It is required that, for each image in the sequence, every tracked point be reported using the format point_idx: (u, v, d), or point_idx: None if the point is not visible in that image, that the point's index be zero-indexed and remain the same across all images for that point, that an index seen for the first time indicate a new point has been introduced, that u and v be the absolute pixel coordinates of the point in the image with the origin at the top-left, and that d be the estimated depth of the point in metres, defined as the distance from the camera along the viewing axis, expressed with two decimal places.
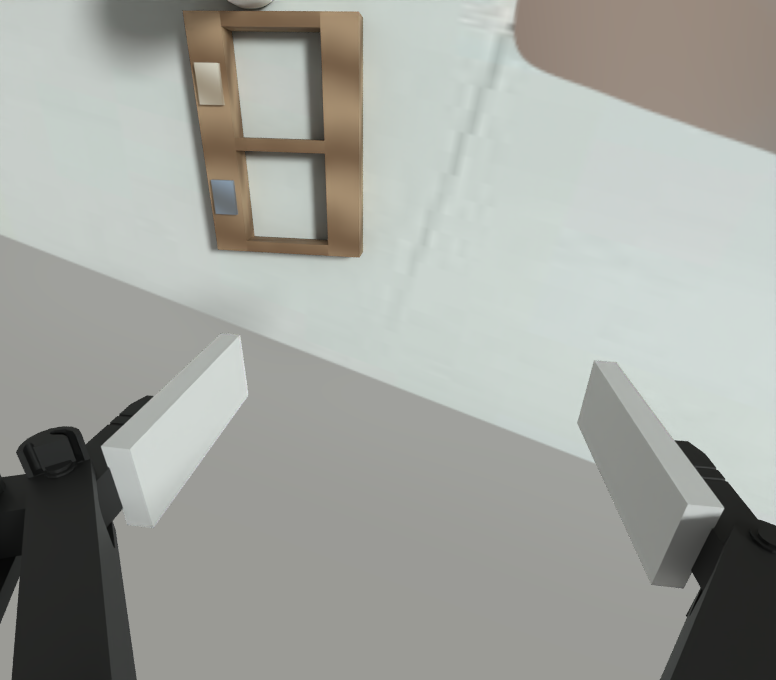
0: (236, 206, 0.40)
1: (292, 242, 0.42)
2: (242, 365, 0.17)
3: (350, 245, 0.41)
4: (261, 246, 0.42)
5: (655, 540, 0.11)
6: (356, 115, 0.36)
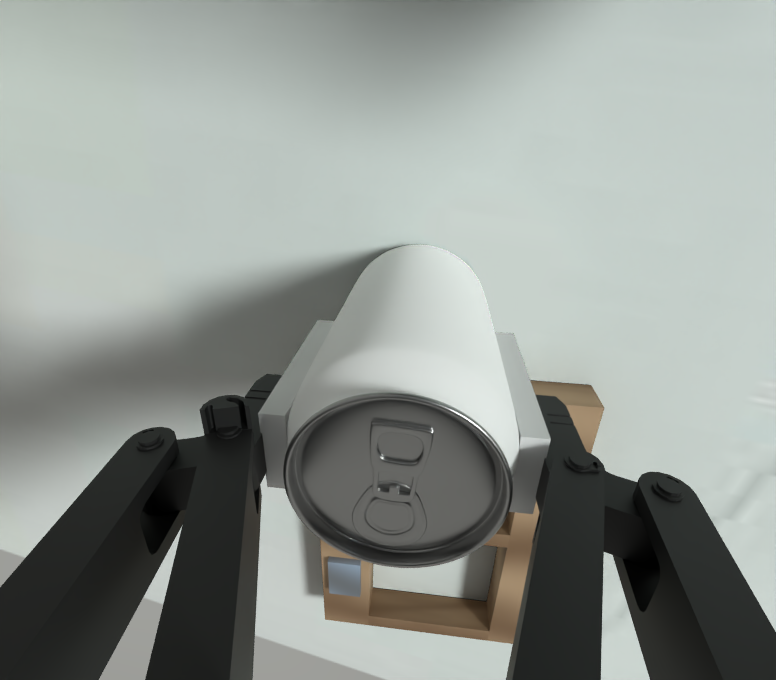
0: (360, 586, 0.28)
1: (434, 619, 0.29)
2: None
3: None
4: (390, 622, 0.29)
5: None
6: None
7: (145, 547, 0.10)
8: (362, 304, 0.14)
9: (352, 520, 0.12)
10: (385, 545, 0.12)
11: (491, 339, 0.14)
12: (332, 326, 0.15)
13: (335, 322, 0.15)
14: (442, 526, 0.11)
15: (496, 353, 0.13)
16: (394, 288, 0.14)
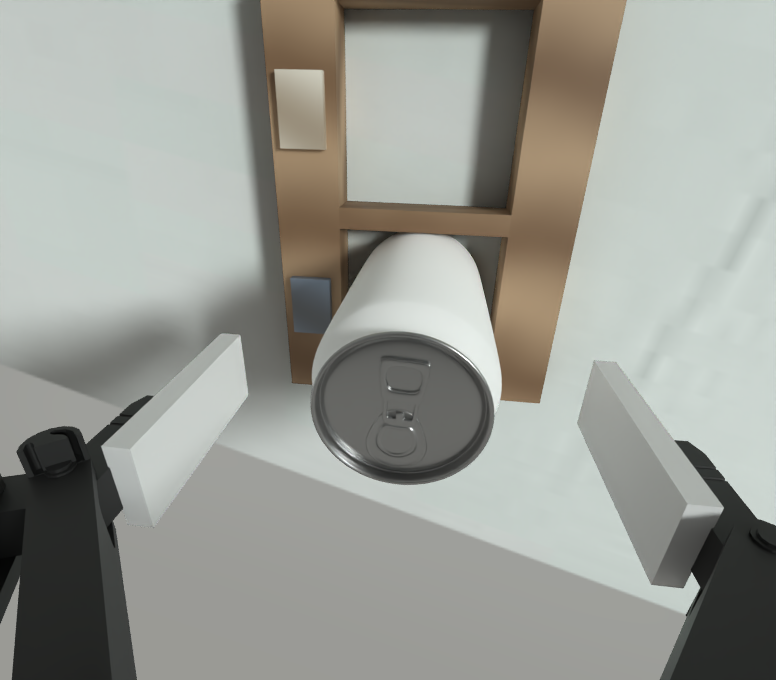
0: (331, 320, 0.23)
1: None
2: (242, 365, 0.17)
3: (527, 385, 0.24)
4: None
5: (655, 540, 0.11)
6: (584, 170, 0.19)
7: None
8: (372, 274, 0.17)
9: (366, 445, 0.14)
10: (393, 467, 0.15)
11: (480, 302, 0.16)
12: (346, 294, 0.17)
13: (349, 291, 0.17)
14: (439, 447, 0.14)
15: (484, 312, 0.16)
16: (398, 261, 0.17)
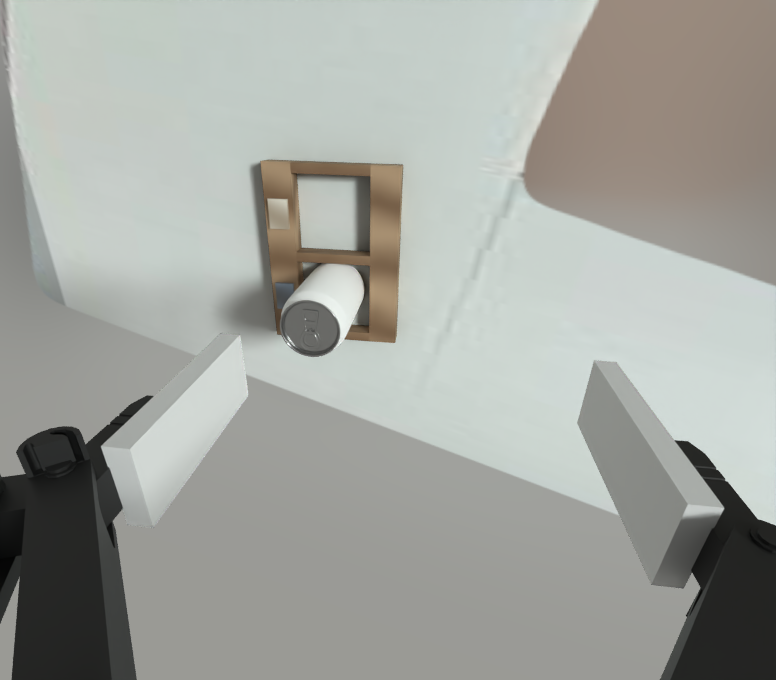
0: None
1: None
2: (242, 365, 0.17)
3: (388, 334, 0.50)
4: None
5: (655, 540, 0.11)
6: (396, 239, 0.45)
7: None
8: (305, 281, 0.43)
9: (300, 342, 0.41)
10: (310, 351, 0.41)
11: (346, 292, 0.43)
12: None
13: None
14: (325, 342, 0.40)
15: (346, 295, 0.42)
16: (316, 276, 0.43)
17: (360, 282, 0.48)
